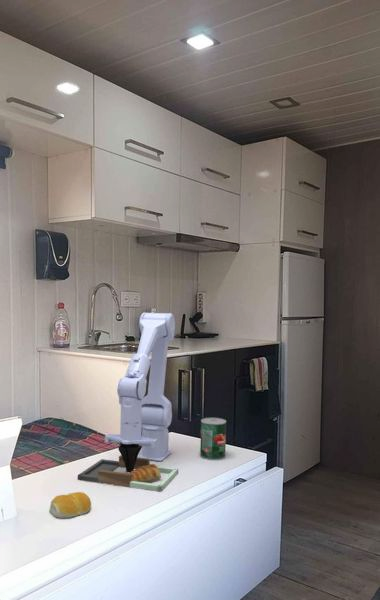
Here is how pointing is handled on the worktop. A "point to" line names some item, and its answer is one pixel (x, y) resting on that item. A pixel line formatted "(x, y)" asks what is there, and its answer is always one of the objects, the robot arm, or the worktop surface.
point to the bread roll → (70, 505)
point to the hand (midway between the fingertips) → (130, 471)
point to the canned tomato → (213, 438)
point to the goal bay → (157, 487)
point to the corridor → (119, 477)
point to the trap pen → (92, 471)
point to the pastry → (146, 473)
